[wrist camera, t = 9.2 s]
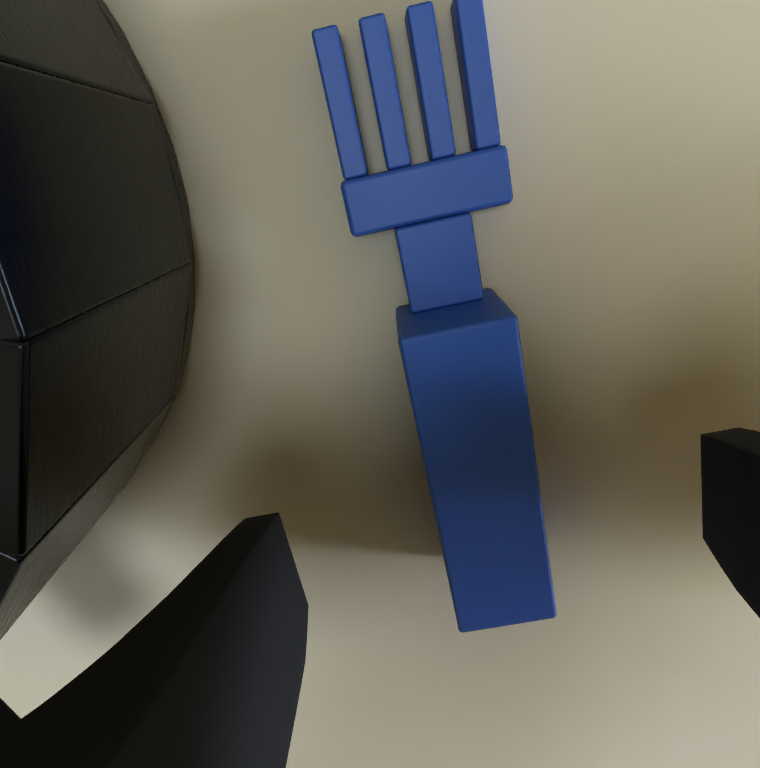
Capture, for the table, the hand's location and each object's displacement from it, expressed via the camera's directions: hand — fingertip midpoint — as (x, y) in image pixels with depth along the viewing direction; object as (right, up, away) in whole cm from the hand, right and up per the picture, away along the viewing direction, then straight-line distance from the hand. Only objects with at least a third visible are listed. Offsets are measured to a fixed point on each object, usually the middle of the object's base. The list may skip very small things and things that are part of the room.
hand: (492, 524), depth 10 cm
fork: (-1, +4, +2) cm, 4 cm away
